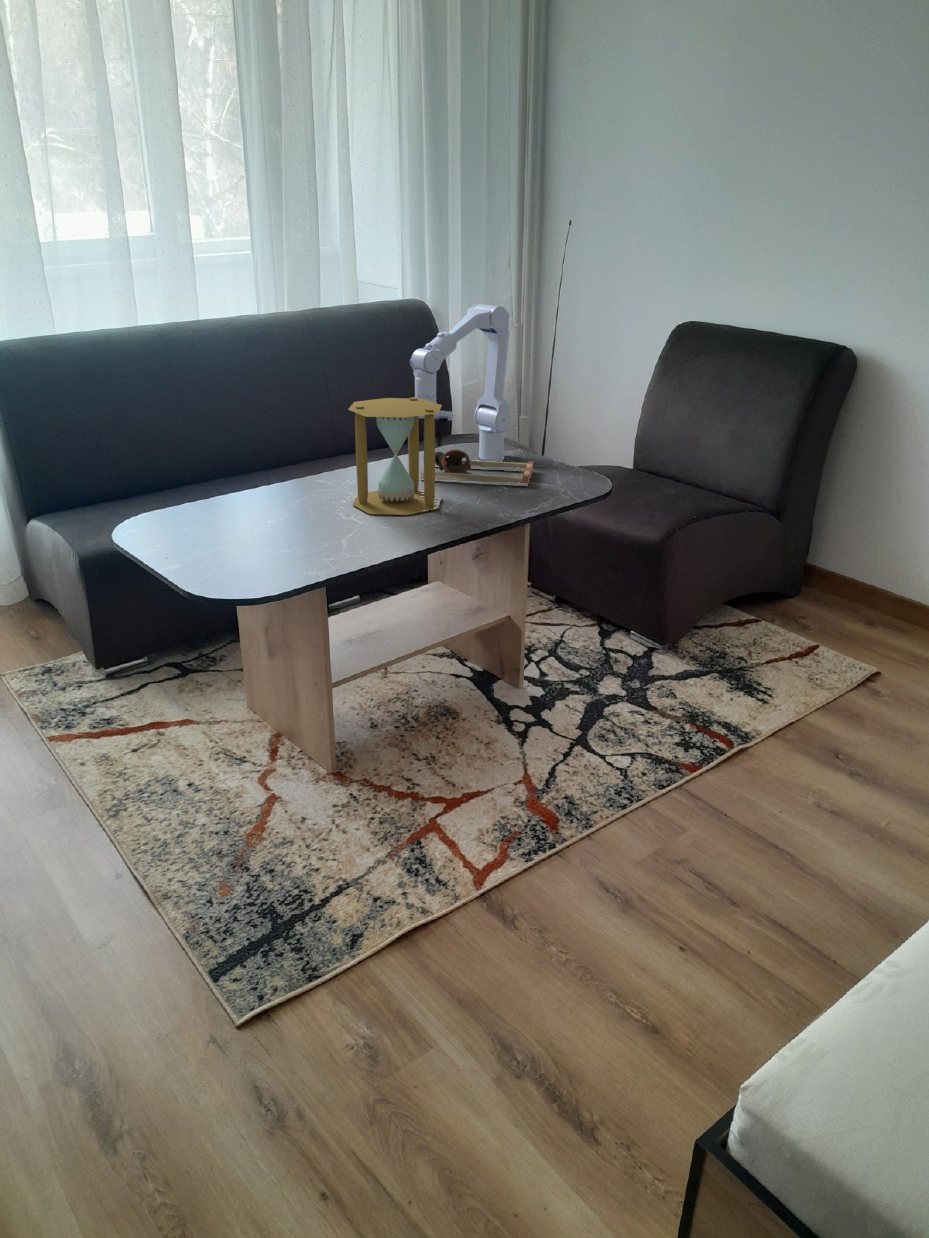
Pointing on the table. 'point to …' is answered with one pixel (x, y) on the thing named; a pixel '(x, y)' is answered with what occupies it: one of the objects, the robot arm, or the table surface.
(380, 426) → the hourglass
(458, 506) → the table surface
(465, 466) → the pottery mug
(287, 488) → the table surface
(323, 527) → the table surface
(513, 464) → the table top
